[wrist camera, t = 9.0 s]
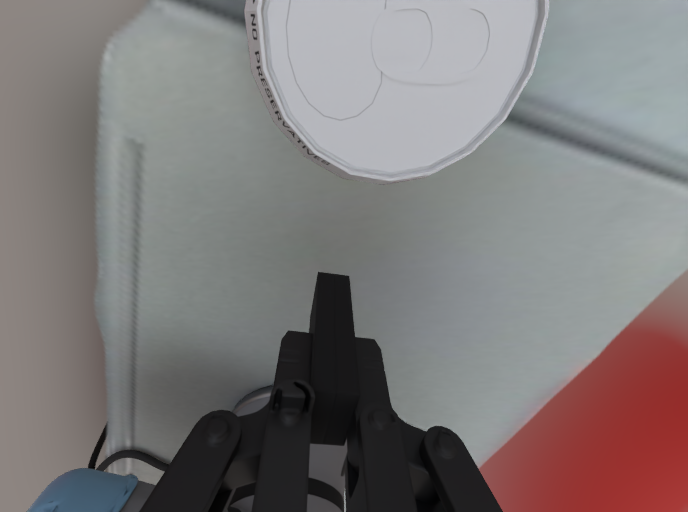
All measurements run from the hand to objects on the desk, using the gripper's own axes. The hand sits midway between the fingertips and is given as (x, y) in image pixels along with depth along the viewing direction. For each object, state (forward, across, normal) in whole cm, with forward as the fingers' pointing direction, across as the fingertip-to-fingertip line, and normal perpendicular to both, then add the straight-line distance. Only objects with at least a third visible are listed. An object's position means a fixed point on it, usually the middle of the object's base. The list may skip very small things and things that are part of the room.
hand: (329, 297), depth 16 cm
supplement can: (+12, 0, -11) cm, 16 cm away
